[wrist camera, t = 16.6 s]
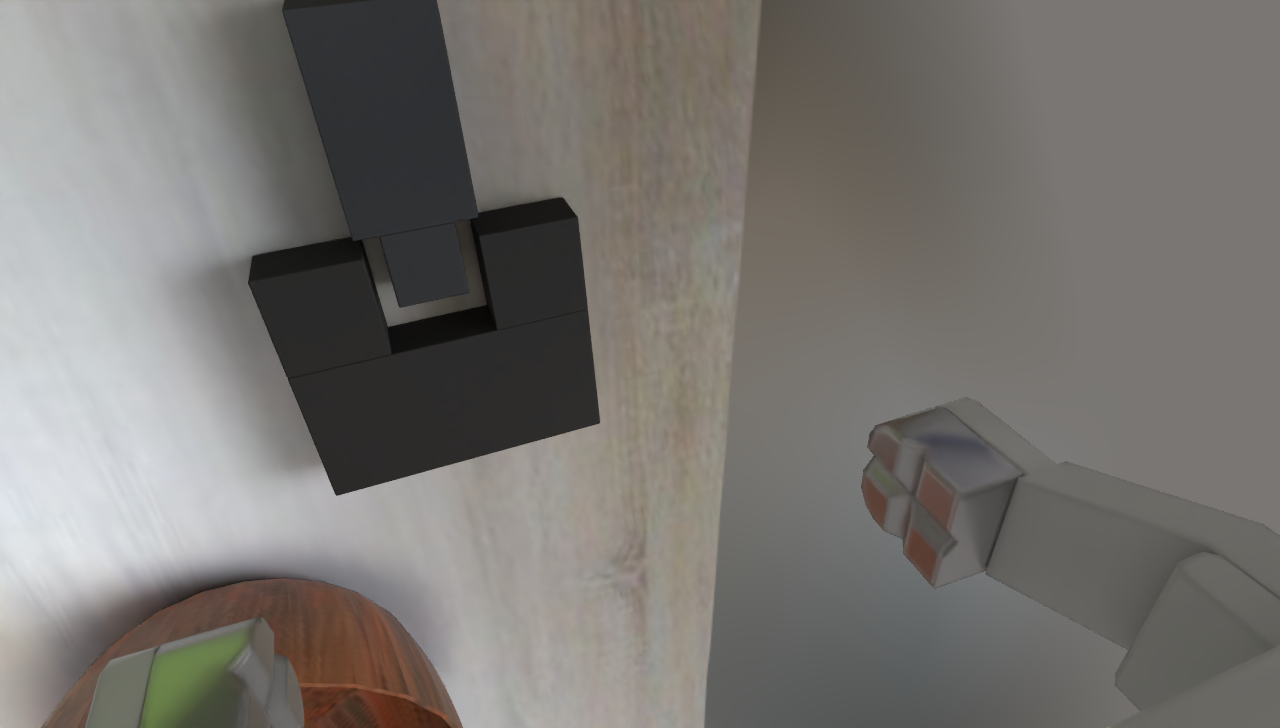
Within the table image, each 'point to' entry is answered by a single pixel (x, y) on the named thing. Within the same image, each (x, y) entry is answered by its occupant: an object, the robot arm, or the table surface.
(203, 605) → the bowl
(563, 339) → the black u-shaped block
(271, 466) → the table surface
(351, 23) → the pad
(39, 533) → the table surface
